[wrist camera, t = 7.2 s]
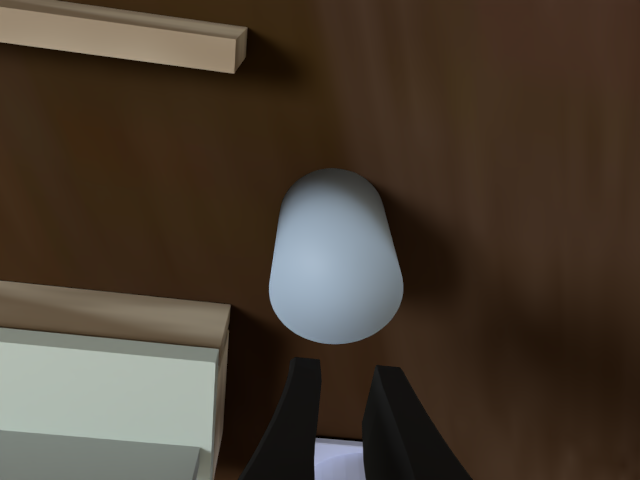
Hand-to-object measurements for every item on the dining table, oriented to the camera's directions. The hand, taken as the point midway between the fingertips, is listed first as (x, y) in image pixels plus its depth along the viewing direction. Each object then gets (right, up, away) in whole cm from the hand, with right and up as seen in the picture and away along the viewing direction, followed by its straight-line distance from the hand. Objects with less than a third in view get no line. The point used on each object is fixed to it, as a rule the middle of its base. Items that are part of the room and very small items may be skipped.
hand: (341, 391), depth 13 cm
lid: (-12, -4, +10) cm, 16 cm away
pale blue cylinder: (0, +5, +9) cm, 10 cm away
